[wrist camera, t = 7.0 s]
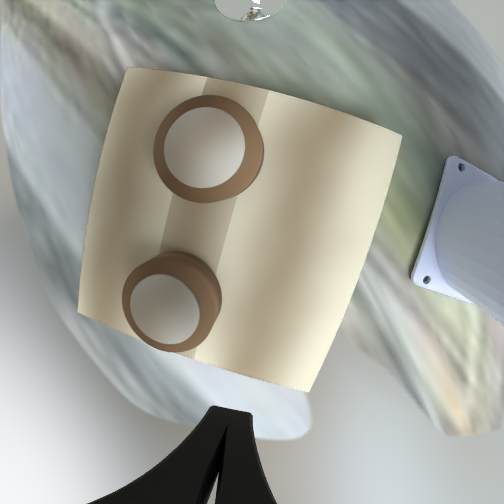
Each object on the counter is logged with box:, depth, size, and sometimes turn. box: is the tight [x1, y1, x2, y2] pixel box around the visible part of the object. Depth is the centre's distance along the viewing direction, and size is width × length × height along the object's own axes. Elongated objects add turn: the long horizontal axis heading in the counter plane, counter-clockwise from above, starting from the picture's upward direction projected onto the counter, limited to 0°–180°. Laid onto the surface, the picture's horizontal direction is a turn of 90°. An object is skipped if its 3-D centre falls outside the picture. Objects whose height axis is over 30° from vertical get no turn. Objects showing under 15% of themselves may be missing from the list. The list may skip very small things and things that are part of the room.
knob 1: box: [153, 95, 264, 203], centre depth 14 cm, size 4×4×5 cm
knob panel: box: [78, 67, 403, 392], centre depth 16 cm, size 14×14×3 cm
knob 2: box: [122, 251, 222, 352], centre depth 16 cm, size 4×4×5 cm
